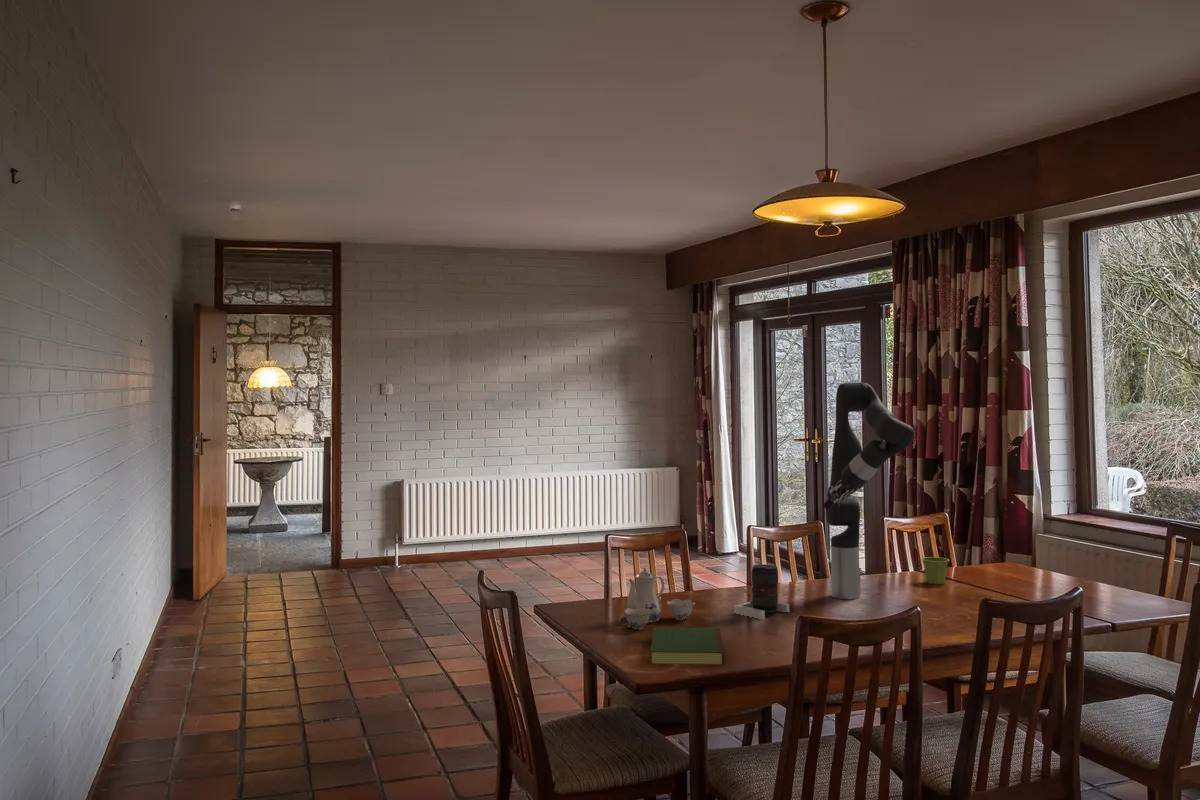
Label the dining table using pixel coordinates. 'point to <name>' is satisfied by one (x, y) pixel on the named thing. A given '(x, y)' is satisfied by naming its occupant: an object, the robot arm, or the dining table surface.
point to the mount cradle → (757, 610)
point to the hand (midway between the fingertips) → (826, 507)
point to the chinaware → (650, 602)
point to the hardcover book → (687, 646)
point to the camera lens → (765, 588)
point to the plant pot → (935, 569)
